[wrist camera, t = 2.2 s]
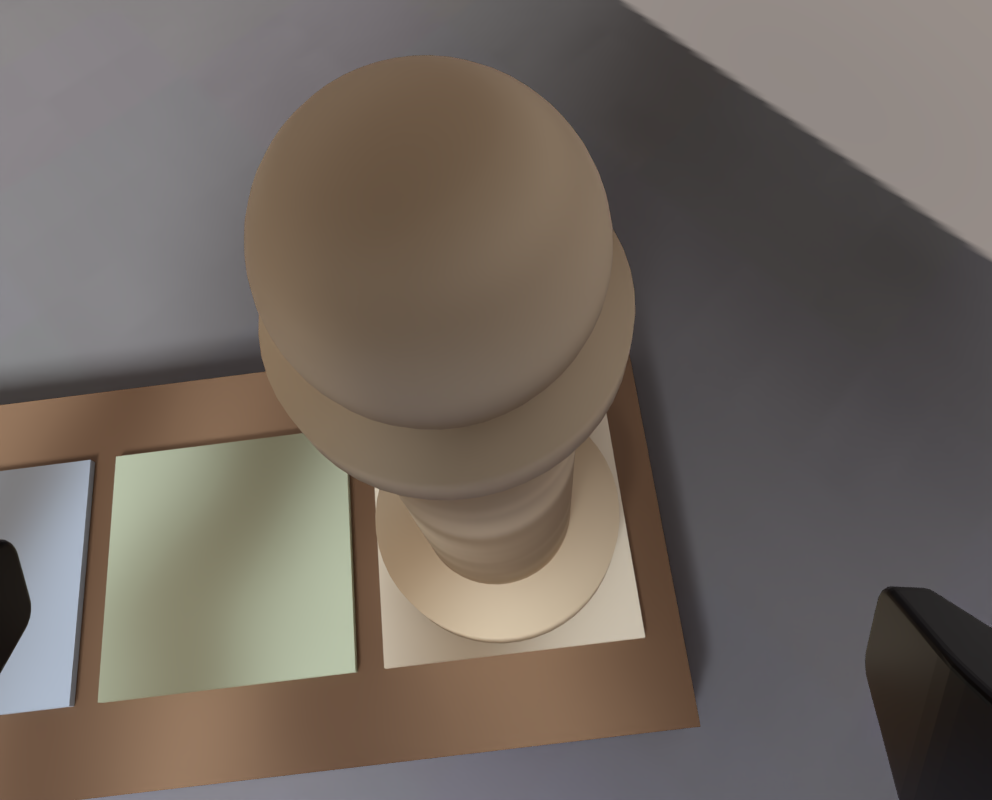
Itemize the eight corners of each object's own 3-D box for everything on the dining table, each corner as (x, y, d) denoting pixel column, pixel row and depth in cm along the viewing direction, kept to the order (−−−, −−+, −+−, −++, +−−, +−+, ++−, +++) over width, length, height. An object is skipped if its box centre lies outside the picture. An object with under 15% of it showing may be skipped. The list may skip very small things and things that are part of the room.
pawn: (659, 496, 18) (861, 46, 6) (528, 694, 16) (470, 596, 5) (475, 378, 19) (355, -174, 8) (340, 552, 18) (-62, 206, 6)
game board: (619, 353, 21) (624, 322, 19) (689, 727, 18) (702, 726, 16) (-326, 472, 21) (-396, 451, 20) (-440, 860, 18) (-535, 872, 16)
